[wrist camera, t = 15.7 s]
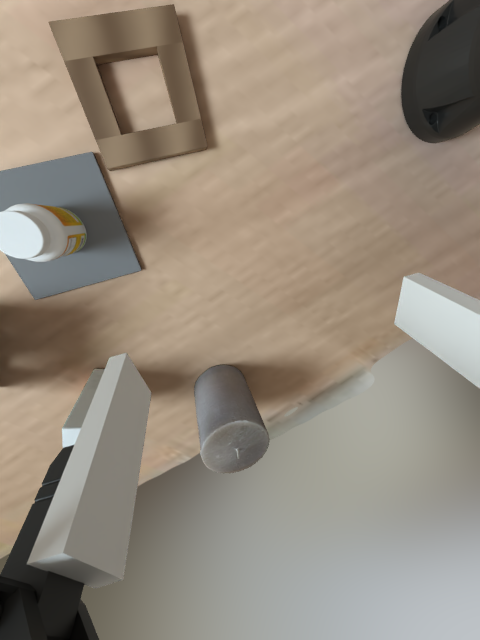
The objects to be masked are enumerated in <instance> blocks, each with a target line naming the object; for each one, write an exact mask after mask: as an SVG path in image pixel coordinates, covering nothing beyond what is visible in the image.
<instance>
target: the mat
mask: <svg viewBox="0 0 480 640" xmlns="http://www.w3.org/2000/svg"><path fill="white" fill-rule="evenodd" d="M17 204H36V205H45V206H54V207H60V208H64V209H67V210H69V211H71V212H72V213H74V214H75V215H76V216H77V217H78V218H79V219H80V220H81V221H82V223H83V224H84V226H85V229H86V233H87V239H86V242H85V245H84V246H83V247H82V248H81V249H80V250H79V251H77V252H75V253H72V254H69V255H66V256H63V257H60V258H57V259H54V260H51V261H46V262H35V261H30V260H27V259H19V258H15V257H11V256H9V255H7V254H6V256H7V257H8V259H9V260H10V262H11V264H12V265H13V267H14V268H15V270H16V271H17V273H18V274H19V276H20V277H21V279H22V281H23V282H24V284H25V285H26V287H27V288H28V290H29V291H30V293H31V294H32V296H33V298H34V299H35V300H37V299H40V298H44V297H47V296H51V295H55V294H58V293H62V292H65V291H69V290H73V289H76V288H80V287H83V286H87V285H91V284H94V283H98V282H101V281H105V280H108V279H112V278H116V277H119V276H123V275H126V274H130V273H134V272H137V271H141V270H142V269H141V266H140V264H139V262H138V259H137V257H136V254H135V252H134V250H133V247H132V245H131V242H130V240H129V237H128V235H127V233H126V230H125V228H124V225H123V223H122V220H121V218H120V216H119V213H118V211H117V208H116V206H115V204H114V201H113V199H112V196H111V194H110V191H109V189H108V187H107V184H106V182H105V179H104V177H103V175H102V172H101V170H100V167H99V165H98V162H97V160H96V158H95V155H94V153H93V152H89V153H84V154H80V155H75V156H70V157H65V158H61V159H56V160H51V161H46V162H41V163H37V164H32V165H27V166H22V167H18V168H13V169H8V170H3V171H0V212H2V211H5V210H6V209H8V208H9V207H11V206H14V205H17Z"/></svg>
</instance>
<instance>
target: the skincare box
mask: <svg viewBox="0 0 480 640" xmlns="http://www.w3.org/2000/svg"><path fill="white" fill-rule="evenodd" d="M104 370H105V369H94V370H93V372H92V374H91V376H90V377H89V379H88V381H87V383H86V385H85V387H84V389H83V390H82V392H81V394H80V396H79V398H78V400H77V402H76V403H75V405H74V407H73V409H72V411H71V413H70V415H69V416H68V418H67V420H66V422H65V424H64V426H63V428H62V439H63V448H64V447H68V446H71V445H75V442H76V440H77V437H78V435H79V432H80V430H81V427H82V425H83V422H84V420H85V417H86V415H87V412H88V410H89V407H90V405H91V402H92V400H93V397H94V395H95V392H96V390H97V387H98V385H99V382H100V380H101V377H102V375H103V372H104Z"/></svg>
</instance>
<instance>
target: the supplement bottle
mask: <svg viewBox="0 0 480 640" xmlns="http://www.w3.org/2000/svg"><path fill="white" fill-rule="evenodd" d="M86 239H87V233H86V229H85V226H84V224H83V223H82V221H81V220H80V219H79V218H78V217H77V216H76V215H75V214H74V213H72V212H71V211H69V210H67V209H64V208H60V207H54V206H45V205H36V204H17V205H14V206H11V207H9V208H8V209H6V210H5V211H2V212H0V250H1V251H2V252H4V253H5V254H7V255H9V256H11V257H15V258H19V259H27V260H30V261H35V262H46V261H51V260H54V259H57V258H60V257H63V256H66V255H69V254H72V253H75V252H77V251H79V250H80V249H81V248H82V247H83V246H84V245H85V242H86Z"/></svg>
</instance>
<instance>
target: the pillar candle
mask: <svg viewBox="0 0 480 640" xmlns="http://www.w3.org/2000/svg"><path fill="white" fill-rule="evenodd" d="M194 390H195V391H194V394H195V403H196V414H197V423H198V430H199V439H200V448H201V451H200V455H201V457H202V460H203V462H204V464H205V465H206V466H207V467H208V468H209V469H211V470H212V471H214V472H219V473H234V472H239V471H241V470H244V469H246V468H249V467H250V466H252V465H253V464H255V463H256V462H257V461H258V460H259V459H260V458H262V457H263V455H264V454H265V452H266V451H267V448H268V445H269V435H268V432H267V430H266V428H265V425H264V423H263V420H262V418H261V416H260V413H259V411H258V409H257V406H256V404H255V401H254V399H253V397H252V394H251V392H250V390H249V387H248V385H247V383H246V380H245V378H244V376H243V374H242V373H241V371H239V370H238V369H237V368H235V367H233V366H229V365H217V366H214V367H211V368H209V369H208V370H206V371H205V372H204V373H203V374H202V375H201V376H200V377H199V378H198V379H197V381H196V384H195V387H194Z"/></svg>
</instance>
